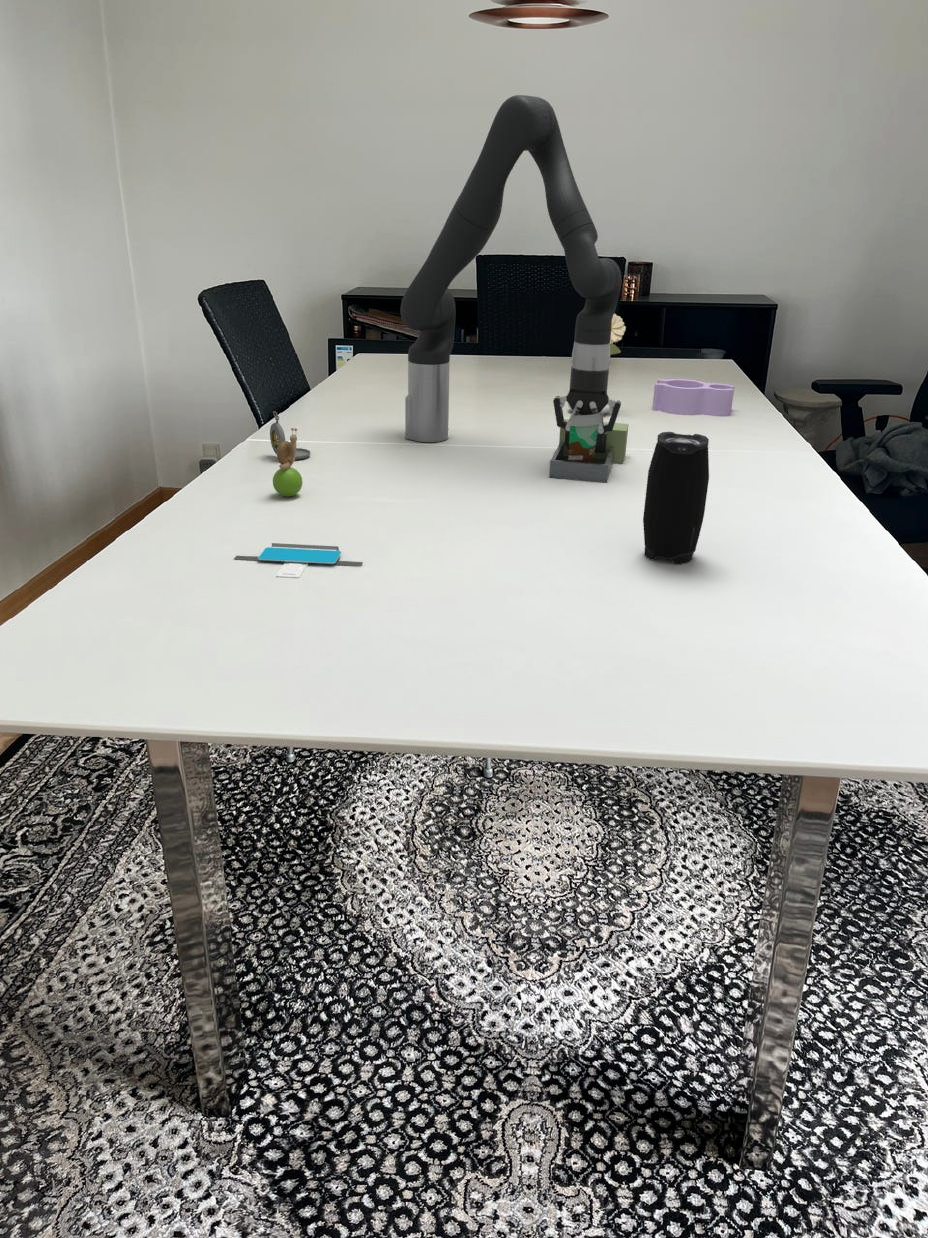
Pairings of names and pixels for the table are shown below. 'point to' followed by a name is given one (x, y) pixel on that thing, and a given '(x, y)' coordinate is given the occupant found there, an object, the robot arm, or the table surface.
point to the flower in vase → (616, 335)
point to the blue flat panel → (299, 557)
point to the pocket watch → (283, 439)
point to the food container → (583, 437)
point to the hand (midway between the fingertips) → (583, 448)
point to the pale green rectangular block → (607, 442)
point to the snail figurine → (287, 469)
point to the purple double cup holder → (692, 397)
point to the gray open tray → (580, 467)
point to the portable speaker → (676, 496)
